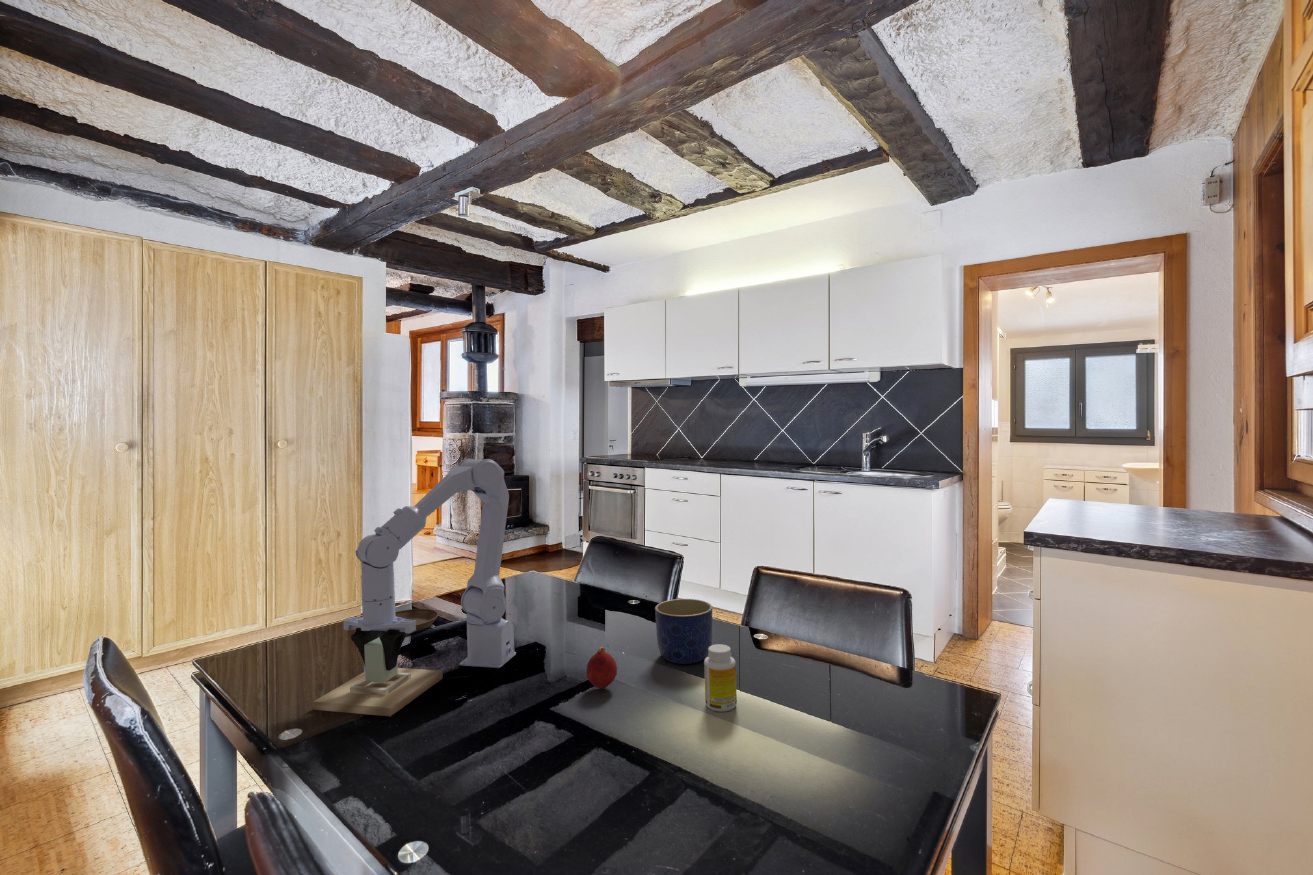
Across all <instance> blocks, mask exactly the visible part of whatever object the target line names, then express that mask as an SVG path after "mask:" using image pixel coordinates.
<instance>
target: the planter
mask: <svg viewBox="0 0 1313 875" xmlns="http://www.w3.org/2000/svg"><path fill="white" fill-rule="evenodd" d="M654 611H655V613H654V614H655V628H656V631H655V632H656V639H657V646H658V651H659V654H660V655H661V656H662V658H663V659H665V661H668V662H669V663H673V664H680V665H688V664H689V665H691V664H696V663H699V662H701V661H703V660H705V659H706V658H707V657H708V648H709V647H710V646H712V645H713V644H712V643H713V642H712V640H713V605H712V604H711V603H709V602H707V601H705V600H700V599H694V598H675V599H669V600H665V601H662V602H659V603H657V605H655V607H654Z"/></svg>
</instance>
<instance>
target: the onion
mask: <svg viewBox="0 0 1313 875" xmlns="http://www.w3.org/2000/svg"><path fill="white" fill-rule="evenodd" d="M617 674H618V666H617V662H616V660H615V659H614V657H613V656H612V655H611V654H610V653H608V652H606V648H605V647H603V646H600V647H599V648H598V649H597V652H596V653H594V654H593V655H592V656H591V657H590V659H589V660H588V662H587V665H586V677H587V679H588V681H589V683H590V684H592V685H593V687H595V688H598V689H599V690H601V691H602V690H605V689H607V687H608V686H609V685H611V684H612V683H613V682H614V680H615V678H616V677H617Z"/></svg>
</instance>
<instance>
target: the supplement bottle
mask: <svg viewBox="0 0 1313 875" xmlns="http://www.w3.org/2000/svg"><path fill="white" fill-rule="evenodd" d="M703 665H704V666H703V668H704V672H703V673H704V698H705V699H704V700H705V705H706V707H708V709H710V710H711V711H714V712H719V713H720V712H723V713H724V712H730V711H732V710H733V709H734V708H735V707H736V706H737V703H738V699H737V698H738V697H737V671H736V670H737V669H736V666H737V665H736V659H735V658H734V657H733V656H732V650H731V647H730V646H729V645H726V644H719V643H718V644H711V646H710V647H709V648H708V656H707V657H706V658H705V659H704V661H703Z"/></svg>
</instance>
